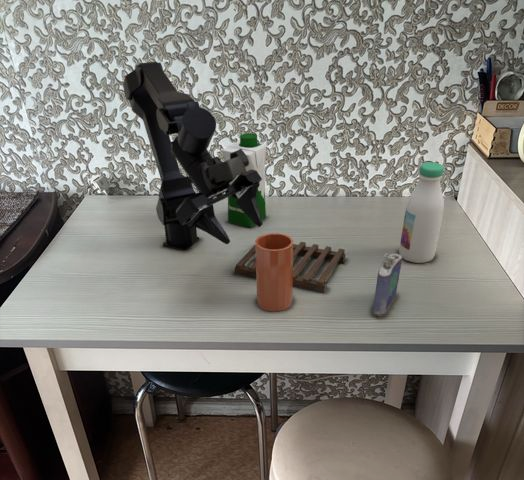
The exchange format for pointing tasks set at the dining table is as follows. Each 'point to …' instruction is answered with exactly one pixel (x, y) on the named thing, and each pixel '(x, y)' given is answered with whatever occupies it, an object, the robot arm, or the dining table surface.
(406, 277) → the dining table surface
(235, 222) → the milk carton
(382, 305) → the flask
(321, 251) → the drying rack
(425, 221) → the milk bottle
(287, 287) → the tumbler
